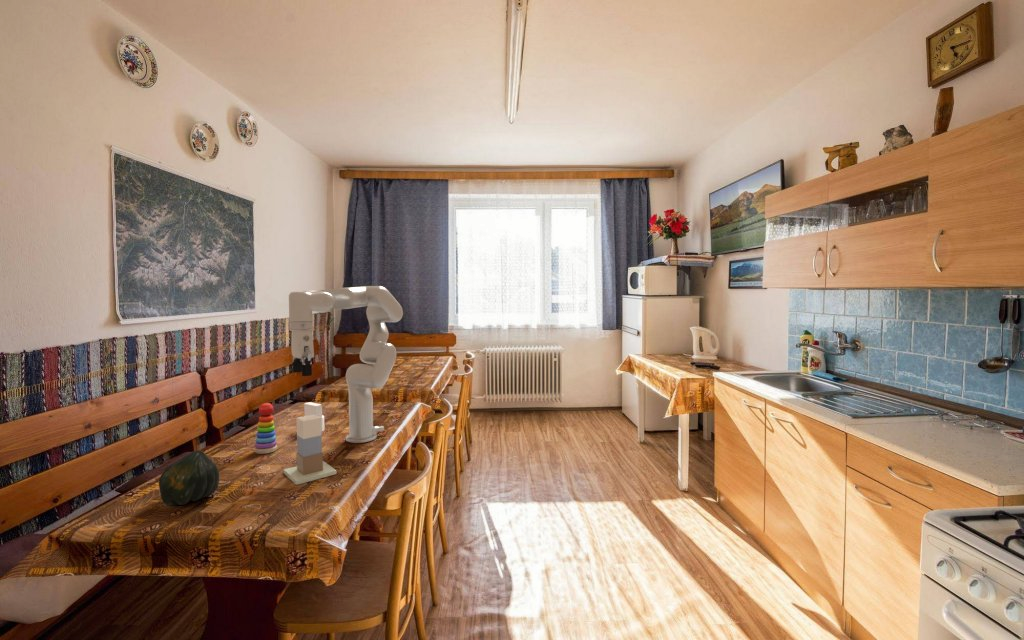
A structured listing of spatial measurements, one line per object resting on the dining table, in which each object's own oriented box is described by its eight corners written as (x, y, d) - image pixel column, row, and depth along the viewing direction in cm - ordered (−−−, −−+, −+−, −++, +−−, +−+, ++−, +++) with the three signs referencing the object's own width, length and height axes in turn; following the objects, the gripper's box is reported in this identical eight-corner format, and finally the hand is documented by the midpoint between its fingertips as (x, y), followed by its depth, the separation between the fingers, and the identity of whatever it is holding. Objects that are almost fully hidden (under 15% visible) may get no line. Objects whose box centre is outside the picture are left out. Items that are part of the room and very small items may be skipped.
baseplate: (322, 463, 163) (322, 443, 163) (336, 474, 154) (336, 453, 154) (283, 472, 155) (283, 452, 154) (296, 484, 145) (295, 462, 145)
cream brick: (314, 431, 158) (314, 414, 158) (321, 435, 154) (321, 417, 153) (296, 435, 154) (296, 417, 153) (303, 439, 149) (303, 421, 149)
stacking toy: (267, 455, 171) (266, 406, 170) (249, 453, 173) (247, 405, 172) (282, 448, 179) (281, 401, 178) (264, 446, 181) (263, 400, 180)
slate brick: (315, 448, 158) (315, 431, 158) (321, 452, 154) (321, 435, 153) (297, 452, 154) (296, 435, 154) (303, 457, 150) (302, 439, 149)
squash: (135, 491, 127) (170, 452, 127) (175, 472, 142) (206, 437, 142) (173, 525, 127) (208, 485, 127) (209, 503, 142) (240, 467, 142)
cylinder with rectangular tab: (328, 429, 204) (328, 403, 203) (310, 434, 196) (309, 407, 196) (316, 426, 209) (315, 400, 208) (298, 431, 201) (297, 404, 200)
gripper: (320, 327, 158) (321, 376, 159) (303, 324, 171) (304, 369, 172) (298, 328, 153) (299, 378, 154) (282, 325, 165) (283, 372, 166)
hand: (302, 374), depth 163 cm, fingers open, 9 cm apart
